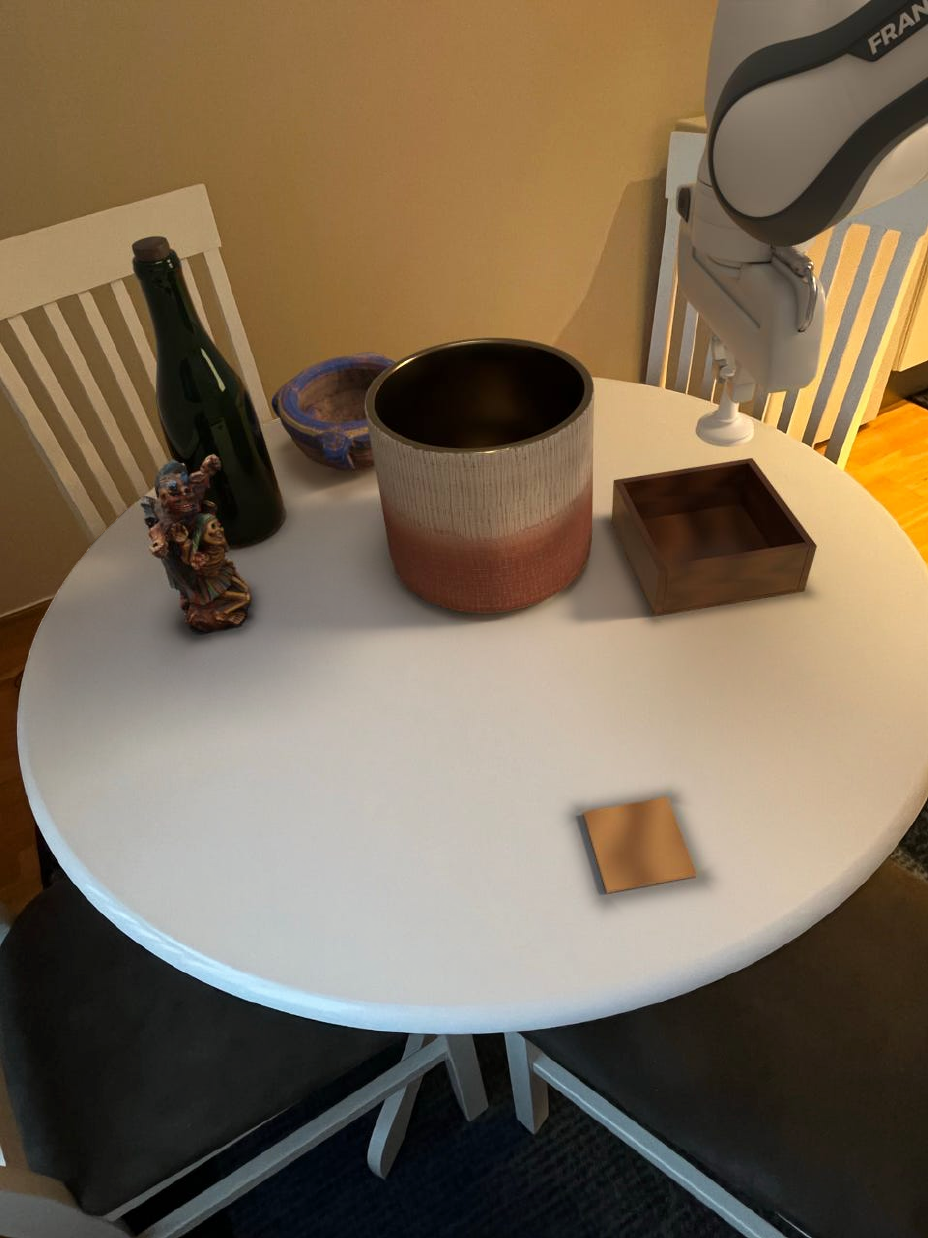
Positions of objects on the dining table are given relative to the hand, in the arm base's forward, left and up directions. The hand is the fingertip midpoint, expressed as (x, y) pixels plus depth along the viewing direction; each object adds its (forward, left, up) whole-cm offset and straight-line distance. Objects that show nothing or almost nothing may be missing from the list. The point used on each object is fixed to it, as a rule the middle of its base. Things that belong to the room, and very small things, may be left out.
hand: (730, 388), depth 70 cm
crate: (-2, -5, -22) cm, 23 cm away
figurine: (+49, -8, -23) cm, 55 cm away
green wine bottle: (+48, -24, -23) cm, 58 cm away
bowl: (+33, -35, -23) cm, 53 cm away
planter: (+20, -11, -23) cm, 32 cm away
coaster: (+15, +27, -22) cm, 39 cm away
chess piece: (0, 0, -4) cm, 4 cm away
